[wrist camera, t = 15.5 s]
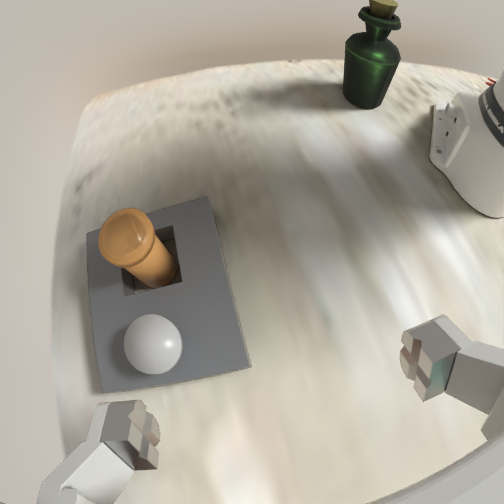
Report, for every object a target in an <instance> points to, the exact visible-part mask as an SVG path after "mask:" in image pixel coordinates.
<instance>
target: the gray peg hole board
mask: <svg viewBox="0 0 504 504" xmlns="http://www.w3.org/2000/svg"><path fill="white" fill-rule="evenodd" d="M145 215H146V216H147V217H148V218H149V220H150V221H151V223H152V224H153V226H154V229H155V235H156V236H157V238H158V239H159V240H160V241H161V242H163V241H167V240H171V239H174V238H175V242H176V248H177V254H178V260H179V265H180V271H181V276H182V282H180V283H176V284H172V285H168V286H164V287H160V288H156V289H153V290H149V291H145V292H141V293H137V294H134V287H133V278H132V274H131V273H130V272H129V271H128V270H126V269H125V268H121V267H117V266H115V265H113V264H112V263H110V262H109V261H108V260H107V259H105V258H104V257H103V255H102V254H101V252H100V250H99V246H98V238H99V233H100V230H101V229H98V230H95V231H92V232H89V233H87V272H88V289H89V302H90V313H91V322H92V331H93V339H94V346H95V353H96V359H97V366H98V371H99V377H100V382H101V388H102V393H113V392H123V391H130V390H137V389H144V388H151V387H157V386H163V385H169V384H174V383H180V382H185V381H190V380H196V379H201V378H205V377H210V376H215V375H219V374H224V373H228V372H233V371H237V370H241V369H245V368H249V367H252V366H251V363H250V359H249V355H248V351H247V347H246V344H245V340H244V336H243V332H242V328H241V324H240V320H239V316H238V312H237V308H236V304H235V301H234V297H233V292H232V288H231V284H230V280H229V276H228V272H227V268H226V264H225V260H224V256H223V251H222V247H221V243H220V239H219V235H218V230H217V226H216V222H215V217H214V213H213V209H212V206H211V203H210V200H209V197H208V196H207V197H203V198H200V199H196V200H192V201H189V202H185V203H182V204H178V205H175V206H171V207H168V208H164V209H161V210H158V211H154V212H151V213H148V214H145Z"/></svg>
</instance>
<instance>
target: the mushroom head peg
mask: <svg viewBox="0 0 504 504" xmlns="http://www.w3.org/2000/svg"><path fill="white" fill-rule="evenodd" d="M98 246H99V250H100V252H101V254H102V255H103V257H104V258H105V259H107V260H108V261H109V262H110V263H112V264H113V265H115V266H117V267H121V268H125V269H126V270H128V271H129V272H130V273H131V274H133V275H134V276H135V277H136V278H138V279H139V280H140V281H142V282H143V283H144V284H145V285H147V286H148V287H151V288H160V287H164V286H166V285H167V284H169V283H170V282H171V281H172V279H173V278H174V276H175V273H176V262H175V259H174V258H173V256H172V255H171V254H170V253H169V251H168V250H167V249H166V248H165V246H164V245H163V244H162V243H161V241H160V240H159V239H158V238H157V236H156V235H155V229H154V226H153V224H152V223H151V221H150V220H149V218H148V217H147V216H146V215H145V214H144V213H143V212H142V211H140V210H138V209H134V208H127V209H122V210H120V211H118V212H116V213H114V214H113V215H111V216H110V217H109V218H108V219H107V220H106V222H105V223H104V224H103V226H102V228H101V230H100V233H99V238H98Z"/></svg>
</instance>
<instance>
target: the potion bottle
mask: <svg viewBox="0 0 504 504" xmlns="http://www.w3.org/2000/svg"><path fill="white" fill-rule="evenodd" d="M369 2H370V6H367V7H363V8H362V9H361V10H360V12H359V14H358V16H359V18H360V19H361V20H363V21H365V24H366V32H361V33H356V34H353V35H352V36H351V37H350V38H349V39H348V40H347V41H346V44H345V63H344V79H343V94H344V96H345V97H346V99H347V100H348V101H349V102H351V103H352V104H354V105H356V106H358V107H361V108H367V109H369V108H376V107H378V106H380V105H381V103H382V101H383V99H384V96H385V94H386V92H387V90H388V87H389V85H390V83H391V80H392V78H393V76H394V74H395V71H396V69H397V67H398V64H399V62H400V59H401V57H400V53H399V50H398V48H397V47H396V46H395V45H394V44H393V43H392V42H391V41H390V40H388V39H387V37H388V35H389V34H390V32H391V30H399V29H400V28H401V23H400V19H399V17H398V16H396V15H395V14H394V12H395V10H396V8H397V6H398V4H397V2H395V1H394V0H369Z"/></svg>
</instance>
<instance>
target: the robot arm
mask: <svg viewBox="0 0 504 504" xmlns="http://www.w3.org/2000/svg"><path fill="white" fill-rule="evenodd" d="M488 80H490V81H491V82H493V83H495V84H492V83H489V82H486V84H487V85H489V86H490V87H489V88H488V89H486V90H485V91H484V92H483V93H482V94H475V93H469V92H460V93H458V94H457V95H456V96H455V97H454V99H453V101H452V102H451V103H449V102H437V103H436V104H435V105H434V114H433V127H432V138H431V148H430V160H431V162H432V163H433V164H434V165H435V166H436V167H437V168H438V169H440V170H441V171H442V172H443V173H444V174H445V175H446V176H447V177H448V179H449V180H450V182H451V183H452V185H453V186H454V188H455V189H456V191H457V192H458V193H459V194H460V196H461V197H462V198H463V199H464V200H465V201H466V202H467V203H468V204H470V205H471V206H472V207H473V208H475V209H476V210H477V211H479V212H481V213H483V214H485V215H487V216H490V217H495V218H500V217H504V67H503V70H502V72H501V74H500V76H499V78H498V80H497V82H495V81H494V80H492V79H490V78H488ZM401 342H402V343H403V344H404V347H403V348H402V350H401V351H400V363H401V367H402V370H403V372H404V374H405V375H406V377H407V378H408V379H411V380H414V381H415V382H414V389H415V391H416V392H417V394H418V395H419V397H420V398H421V400H422V401H423V402H424V401H426V400H428V399H430V398H433V397H435V396H437V395H439V394H441V393H443V392H445V393H447V394H448V395H450V396H452V397H454V398H456V399H458V400H460V401H462V402H464V403H466V404H468V405H470V406H472V407H474V408H476V409H478V410H480V411H482V412H484V413H486V414H488V417H487V418H486V420H485V422H484V424H483V425H482V428H481V431H482V433H483V434H484V436H485V437H486V439H487V440H488V441H487V442H485V443H484V444H482V445H481V446H479V447H478V448H476V449H475V450H473V451H472V452H470V453H469V454H467V455H465V456H464V457H462V458H461V459H459V460H457V461H456V462H454V463H452V464H450V465H449V466H447V467H445V468H443V469H442V470H440V471H438V472H436V473H434V474H432V475H430V476H429V477H427V478H425V479H423V480H421V481H419V482H417V483H414V484H412V485H410V486H408V487H406V488H404V489H402V490H399V491H397V492H395V493H392V494H390V495H388V496H385V497H383V498H380V499H378V500H375V501H372V502H370V503H367V504H504V349H501V348H498V347H494V346H491V345H488V344H484V343H481V342H478V341H476V342H474V343H473V342H472V341H471V340H470V339H469V338H468V337H467V336H466V335H465V334H464V333H463V332H462V331H461V330H460V329H459V328H458V327H457V326H456V325H455V324H454V323H453V322H452V321H451V320H450V319H449V318H448V317H447V316H446V315H440V316H438V317H436V318H434V319H432V320H430V321H427V322H425V323H422V324H420V325H418V326H415V327H413V328H411V329H408V330H406V331H404V332H403V334H402V339H401ZM159 441H160V429H159V425H158V422H157V420H156V419H155V417H154V416H153V415H152V414H150V413H148V412H146V405H145V404H144V403H143V402H142V400H130V401H117V402H104V403H98V404H97V405H96V407H95V410H94V414H93V417H92V421H91V424H90V427H89V431H88V435H87V438H86V442H81V443H80V444H79V445H78V446H77V447H76V449H75V450H74V451H73V452H72V453H71V454H70V455H69V456H68V457H67V458H66V459H65V460H64V461H63V462H62V463H61V464H60V465H59V466H58V467H57V468H56V469H55V470H54V471H53V472H52V473H51V474H50V475H49V476H48V477H47V478H46V479H45V480H44V481H43V482H42V484H41V488H40V492H39V496H38V500H37V504H113V503H114V502H115V500H116V499H117V497H118V496H119V494H120V493H121V491H122V490H123V488H124V487H125V485H126V484H127V482H128V481H129V479H130V478H131V476H132V475H133V473H134V470H153V469H157V467H158V456H159V452H158V451H157V449H156V448H155V446H156V445H157V444H158V443H159ZM0 504H4V503H2V502H0Z"/></svg>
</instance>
